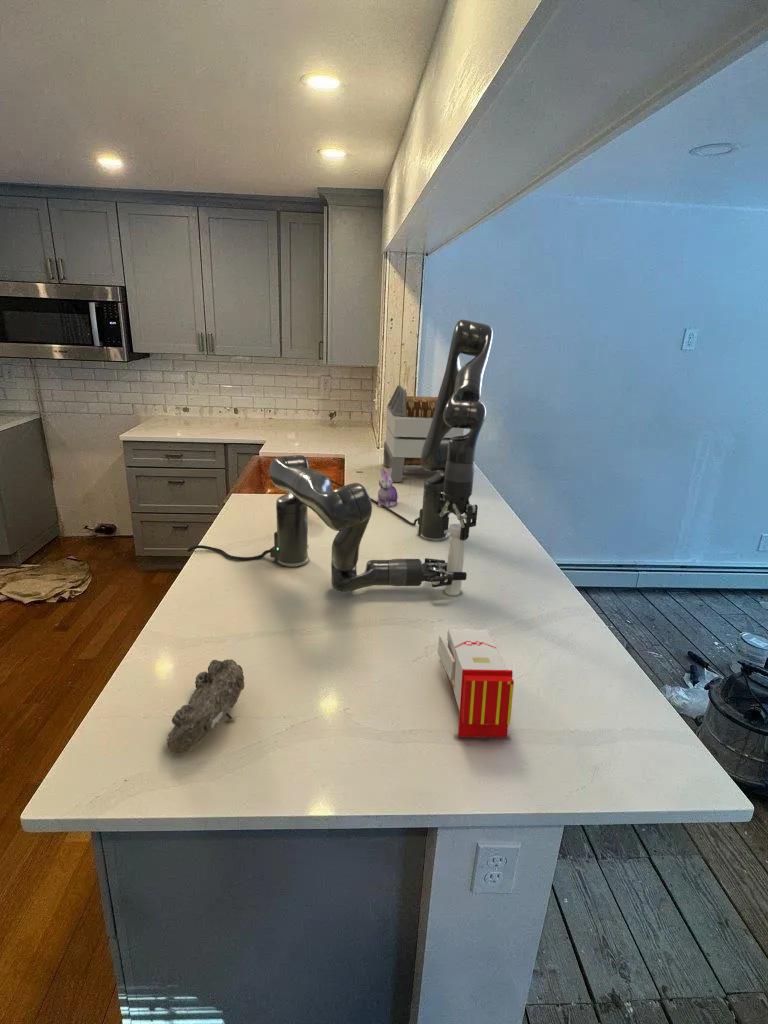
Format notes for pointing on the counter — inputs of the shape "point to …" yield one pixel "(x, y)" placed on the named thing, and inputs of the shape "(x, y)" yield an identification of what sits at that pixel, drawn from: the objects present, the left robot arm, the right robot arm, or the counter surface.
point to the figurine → (386, 489)
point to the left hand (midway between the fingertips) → (463, 571)
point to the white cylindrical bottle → (455, 563)
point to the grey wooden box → (409, 430)
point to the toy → (478, 682)
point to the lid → (455, 529)
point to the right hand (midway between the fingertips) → (453, 534)
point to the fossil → (206, 705)
